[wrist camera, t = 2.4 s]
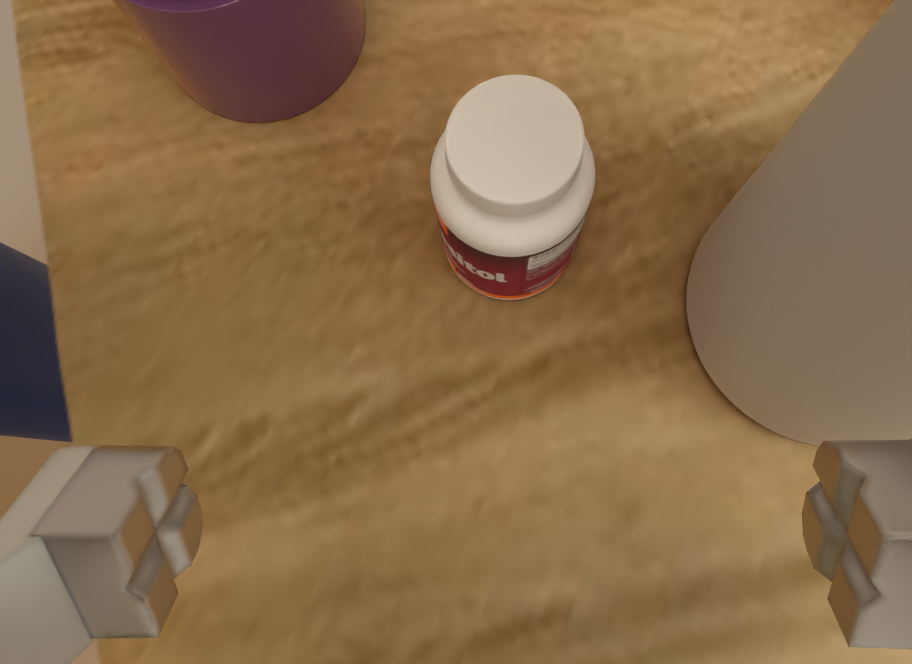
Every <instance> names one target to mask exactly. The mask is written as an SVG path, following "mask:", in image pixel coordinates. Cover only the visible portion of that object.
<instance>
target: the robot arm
mask: <svg viewBox="0 0 912 664" xmlns="http://www.w3.org/2000/svg"><path fill="white" fill-rule="evenodd" d="M813 467H814V469H815V471H816V473H817V475H818V477H819V479H820V481H819V482H818V483H817V484H816V485H815V486H813V487H812V488H811V489H810V490H809V491H807V492H806V496H805V501H804V506H803V510H802V524H803V537H804V541H805V545H806V549H807V552H808V555H809V557H810V559H811V562H812V564H813V567H814V569H816V570H817V571H818V572H820V573H821V574H822V575H824V576H825V577H826V578H828V579H829V580H830V581H832V584H831V588H830V591H829V595H828V598H827V599H828V601H829V603H830V606H831V608H832V610H833V612H834V615H835V617H836V619H837V621H838V624H839V626H840V628H841V630H842V633H843V635H844V637H845V639H846V642H847V644H848V646H849V647H865V648H890V649H912V438H911V439H909V440H904V439H902V440H836V441H823V442H822V443H821V445H820V446H819V448H818V449H817V452H816V455H815V459H814V463H813ZM187 471H188V467H187V465H186V462H185V460H184V457H183V454H182V452H181V450H179V449H177V448H174V447H172V446H106V445H102V446H64V447H62V448H60V449H58V450H56V451H54V453H53V454H52V455H51V456H50V458H49V459H48V460H47V461H46V463H45V464H44V465H43V466H42V468H41V469H40V470H39V471H38V473H37V474H36V476H35V477H34V478H33V479H32V480H31V482H30V483H29V484H28V485H27V487H26V488H25V489H24V490H23V492H22V493H21V494H20V496H19V497H18V498H17V499H16V501H15V502H14V503H13V504H12V506H11V507H10V508H9V510H8V511H7V512H6V513H5V515H4V516H3V517H2V518H1V520H0V664H70V663H71V662H72V661H73V660H74V659H75V658H76V657H77V656H78V655H80V654H81V653H82V652H83V651H84V650H85V649H86V648H87V647H88V646H89V645H90V644H92V642H93V640H92V639H97V638H158V637H159V634H160V632H161V630H162V628H163V626H164V624H165V621H166V619H167V617H168V615H169V613H170V611H171V608H172V606H173V604H174V602H175V600H176V598H177V595H178V591H177V588H176V585H175V582H174V580H173V579H174V578H176V577H177V576H178V575H179V574H181V573H182V572H183V571H185V570H186V569H187V568H188V567H190V566H191V565H192V562H193V560H194V558H195V555H196V553H197V551H198V548H199V544H200V538H201V532H202V526H203V525H202V514H201V507H200V504H199V501H198V497H197V495H196V494H195V493H194V492H193V491H191V490H190V489H189V488H188V487H187V486H185V485H184V484H183V483H182V481H183V479H184V477H185V475H186V473H187Z"/></svg>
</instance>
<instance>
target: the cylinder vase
mask: <svg viewBox="0 0 912 664" xmlns="http://www.w3.org/2000/svg"><path fill="white" fill-rule="evenodd" d="M686 308H687V318H688V324H689V329H690V333H691V337H692V340H693V343H694V346H695V348H696V351H697V353H698V356H699V358H700V360H701V362H702V364H703V366H704V368H705V369H706V371H707V373H708V374H709V376H710V377H711V379H712V380H713V381H714V383H715V384H716V385H717V387H718V388H719V389H720V390H721V392H722V393H723V394H724V395H725V396H726V397H727V398H728V399H729V400H730V401H731V402H732V403H733V404H734V405H735V406H736V407H737V408H738V409H740V410H741V411H742V412H743V413H745V414H746V415H747V416H749V417H750V418H751V419H753V420H754V421H756V422H757V423H759V424H761V425H762V426H764V427H766V428H768V429H769V430H771V431H774V432H776V433H778V434H780V435H782V436H785V437H787V438H790V439H793V440H796V441H800V442H803V443H807V444H812V445H817V446H820V445H821V443H822V442H823V441H836V440H902V439H904V440H909V439H911V438H912V0H894V1H893V2H892V3H891V4H890V6H889V7H888V8H887V9H886V11H885V12H884V13H883V14H882V16H881V17H880V18H879V19H878V20H877V22H876V23H875V24H874V25H873V27H872V28H871V29H870V30H869V31H868V33H867V34H866V35H865V36H864V38H863V39H862V40H861V41H860V43H859V44H858V45H857V46H856V47H855V49H854V50H853V51H852V52H851V54H850V55H849V56H848V57H847V58H846V60H845V61H844V62H843V63H842V65H841V66H840V67H839V68H838V70H837V71H836V72H835V73H834V74H833V76H832V77H831V78H830V79H829V81H828V82H827V83H826V84H825V85H824V87H823V88H822V89H821V90H820V92H819V93H818V94H817V95H816V96H815V98H814V99H813V100H812V101H811V103H810V104H809V105H808V106H807V108H806V109H805V110H804V111H803V112H802V114H801V115H800V116H799V117H798V119H797V120H796V121H795V122H794V123H793V125H792V126H791V127H790V128H789V130H788V131H787V132H786V133H785V135H784V136H783V137H782V138H781V139H780V141H779V142H778V143H777V144H776V146H775V147H774V148H773V149H772V150H771V152H770V153H769V154H768V155H767V157H766V158H765V159H764V160H763V162H762V163H761V164H760V165H759V166H758V168H757V169H756V170H755V171H754V173H753V174H752V175H751V176H750V177H749V179H748V180H747V181H746V182H745V184H744V185H743V186H742V187H741V189H740V190H739V191H738V192H737V193H736V195H735V196H734V197H733V198H732V200H731V201H730V202H729V203H728V204H727V206H726V207H725V208H724V209H723V211H722V212H721V213H720V214H719V216H718V217H717V218H716V219H715V220H714V222H713V223H712V224H711V226H710V227H709V228H708V230H707V231H706V233H705V235H704V236H703V238H702V240H701V242H700V244H699V246H698V248H697V250H696V252H695V255H694V258H693V261H692V264H691V267H690V271H689V276H688V282H687V292H686Z"/></svg>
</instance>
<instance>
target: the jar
mask: <svg viewBox="0 0 912 664" xmlns="http://www.w3.org/2000/svg"><path fill="white" fill-rule="evenodd" d="M112 1H113V2H114V3H115V5H116V6H117V7H118V8H119V10H120V11H121V12H122V13H123V15H124V16H125V17H126V18H127V20H128V21H129V22H130V23H131V25H132V26H133V27H134V28H135V30H136V31H137V32H138V33H139V35H140V36H141V37H142V38H143V40H144V41H145V42H146V43H147V45H148V46H149V47H150V48H151V50H152V51H153V52H154V53H155V55H156V56H157V57H158V58H159V60H160V61H161V62H162V63H163V65H164V66H165V67H166V68H167V70H168V71H169V72H170V73H171V75H172V76H173V77H174V78H175V80H176V81H177V82H178V83H179V85H180V86H181V87H182V88H183V90H184V91H185V92H186V93H187V94H188V95H189V96H190V97H191V98H192V99H193V100H194V101H196V102H197V103H198V104H199V105H201V106H202V107H204V108H205V109H207V110H209V111H211V112H212V113H215V114H217V115H220V116H222V117H225V118H228V119H232V120H236V121H243V122H258V123H263V122H272V121H278V120H283V119H287V118H290V117H293V116H296V115H298V114H301V113H303V112H305V111H307V110H309V109H311V108H313V107H315V106H316V105H318V104H319V103H321V102H322V101H324V100H325V99H327V98H328V97H329V96H330V95H331V94H332V93H333V92H335V91H336V90H337V89H338V87H339V86H340V85H341V84H342V83H343V82H344V81H345V79H346V78H347V76H348V75H349V74H350V72H351V71H352V69H353V67H354V65H355V63H356V61H357V59H358V57H359V54H360V51H361V48H362V44H363V40H364V35H365V13H364V8H363V3H362V0H112Z"/></svg>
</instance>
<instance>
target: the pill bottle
mask: <svg viewBox="0 0 912 664" xmlns="http://www.w3.org/2000/svg"><path fill="white" fill-rule="evenodd" d="M430 185H431V192H432V197H433V201H434V205H435V210H436V214H437V218H438V223H439V227H440V232H441V236H442V240H443V245H444V250H445V253H446V256H447V258H448V261H449V263H450V265H451V267H452V269H453V270H454V272H455V273H456V275H457V276H458V277H459V278H460V279H461V280H462V281H463V282H464V283H465V284H466V285H467V286H469V287H470V288H471V289H473V290H475V291H477V292H478V293H480V294H482V295H485V296H488V297H491V298H495V299H501V300H518V299H524V298H527V297H531V296H533V295H536V294H538V293H540V292H542V291H544V290H545V289H547V288H548V287H549V286H551V285H552V284H553V283H554V282H555V281H556V280H557V279H558V278H559V277H560V276H561V275H562V273H563V272H564V270H565V269H566V267H567V266H568V264H569V262H570V260H571V258H572V255H573V252H574V249H575V246H576V243H577V241H578V237H579V234H580V231H581V228H582V226H583V223H584V220H585V217H586V214H587V211H588V208H589V206H590V202H591V199H592V195H593V191H594V185H595V163H594V158H593V154H592V151H591V148H590V145H589V143H588V141H587V139H586V137H585V135H584V127H583V123H582V119H581V117H580V114H579V112H578V110H577V108H576V107H575V105H574V103H573V102H572V101H571V100H570V98H569V97H568V96H567V95H566V94H565V93H564V92H563V91H561V90H560V89H559V88H557V87H556V86H555V85H553V84H551V83H549V82H547V81H545V80H543V79H540V78H536V77H533V76H527V75H505V76H499V77H495V78H492V79H489V80H487V81H485V82H482V83H480V84H479V85H477V86H475V87H474V88H473V89H471V90H470V91H468V92H467V93H466V94H465V95H464V96H463V97H462V98H461V99H460V100H459V102H458V103H457V104H456V106H455V107H454V109H453V111H452V113H451V115H450V117H449V119H448V122H447V126H446V130H445V131H444V133H443V134H442V136H441V137H440V139H439V141H438V143H437V145H436V148H435V150H434V154H433V157H432V161H431V168H430Z"/></svg>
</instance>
